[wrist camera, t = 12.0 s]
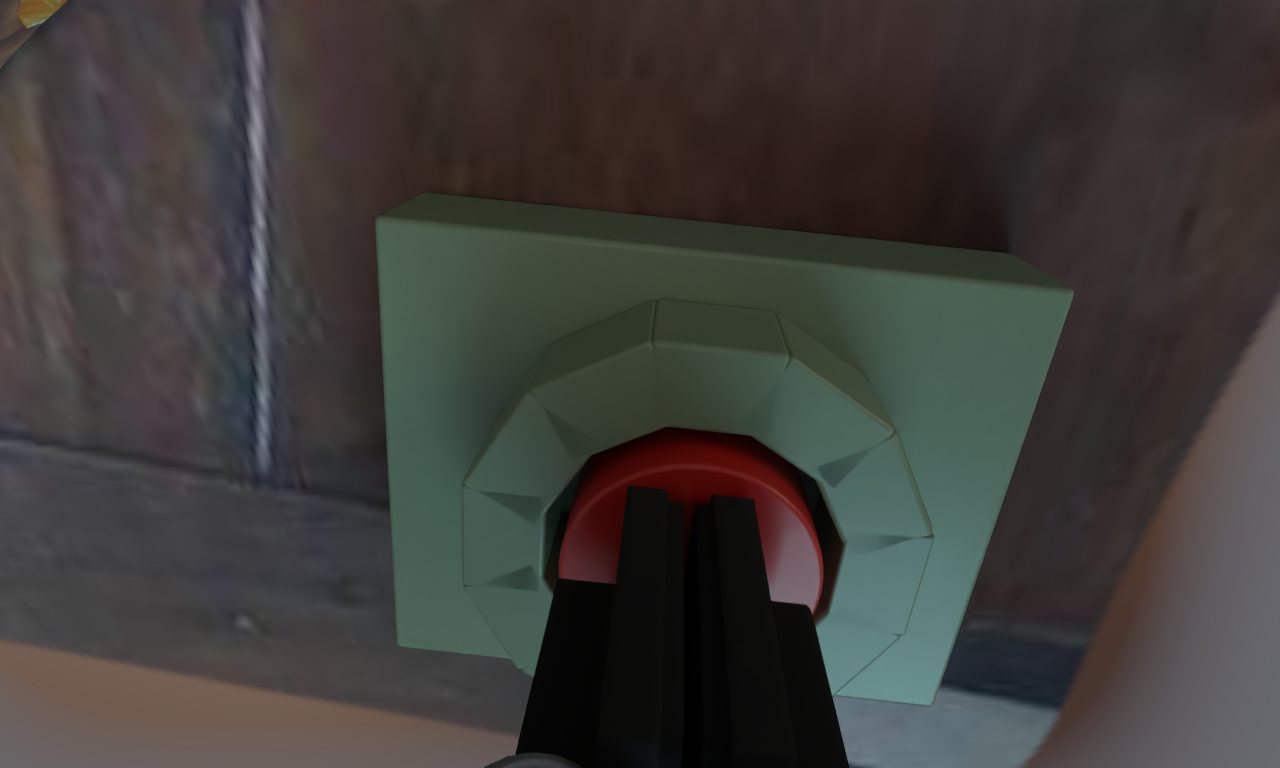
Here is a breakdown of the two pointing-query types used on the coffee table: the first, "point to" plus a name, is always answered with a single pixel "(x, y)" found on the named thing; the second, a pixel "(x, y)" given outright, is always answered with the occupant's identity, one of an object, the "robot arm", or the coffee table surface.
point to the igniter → (700, 407)
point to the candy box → (22, 22)
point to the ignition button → (691, 477)
